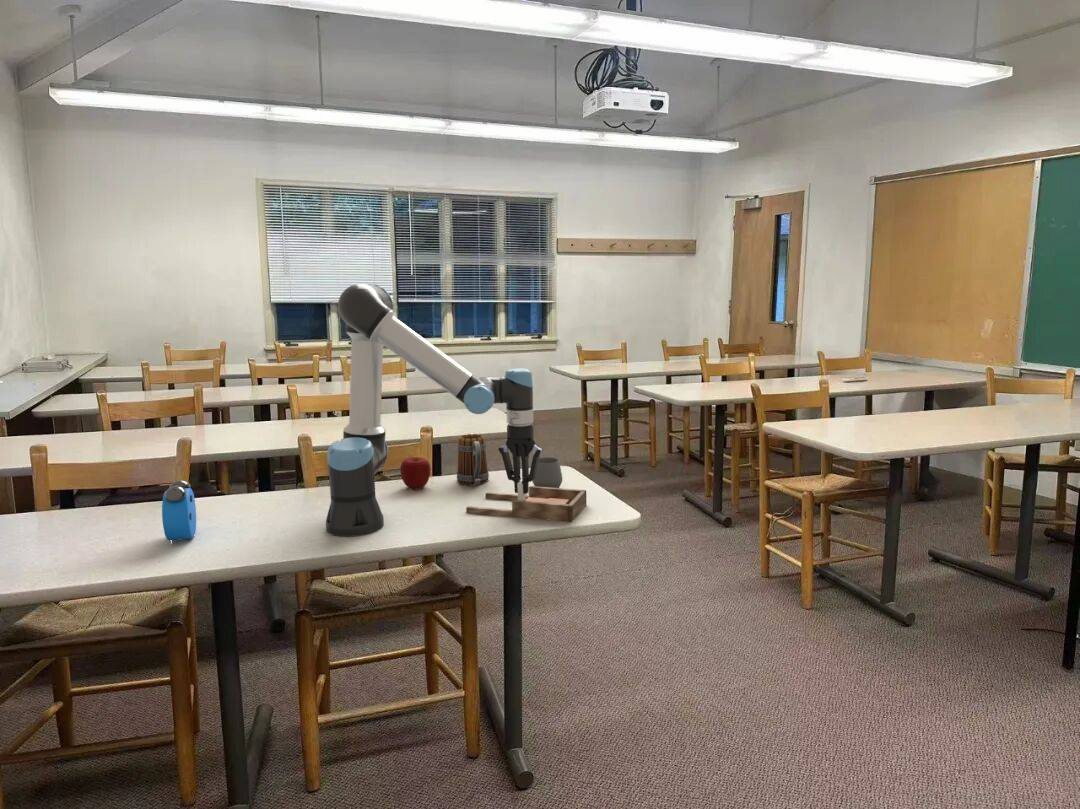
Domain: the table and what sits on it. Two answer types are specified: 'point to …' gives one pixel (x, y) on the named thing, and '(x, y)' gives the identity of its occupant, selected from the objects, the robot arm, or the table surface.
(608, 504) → the table surface
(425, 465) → the apple
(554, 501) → the tile
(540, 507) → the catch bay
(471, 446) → the mug
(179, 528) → the alarm clock
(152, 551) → the table surface
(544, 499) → the tile
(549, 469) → the cup
